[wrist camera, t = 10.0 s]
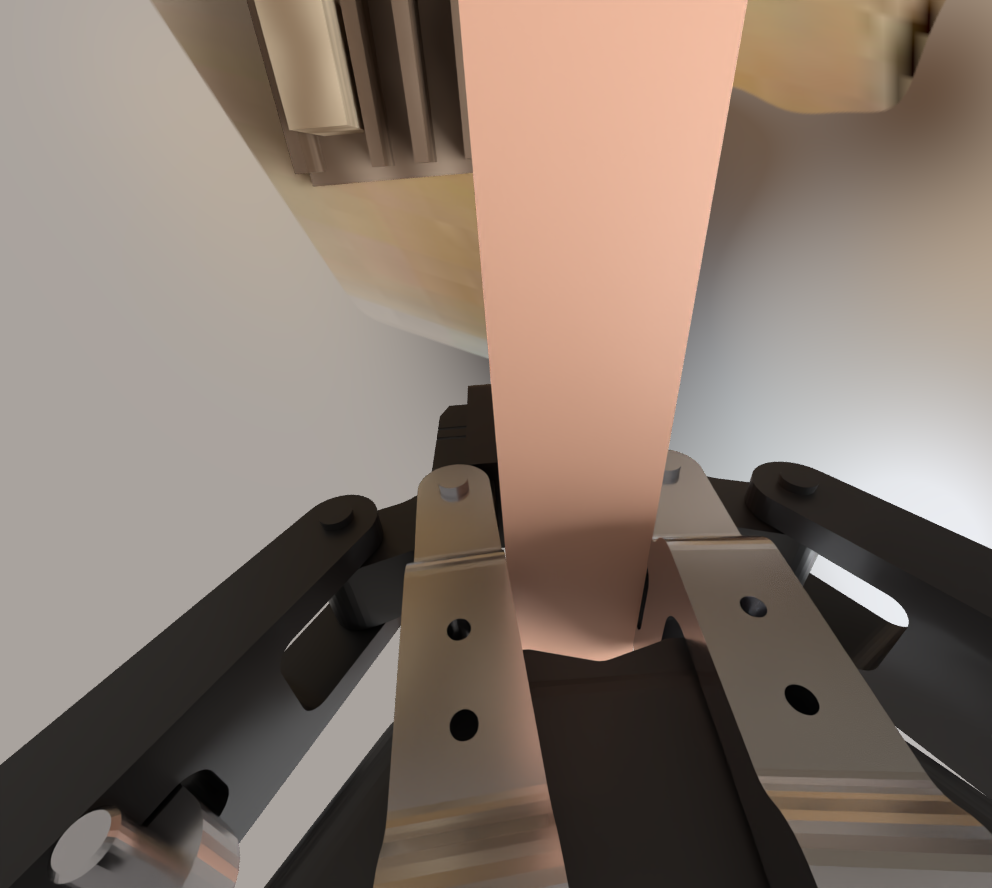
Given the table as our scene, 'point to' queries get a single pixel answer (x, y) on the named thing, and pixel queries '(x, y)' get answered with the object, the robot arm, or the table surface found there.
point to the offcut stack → (312, 65)
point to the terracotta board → (590, 280)
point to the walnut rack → (392, 96)
